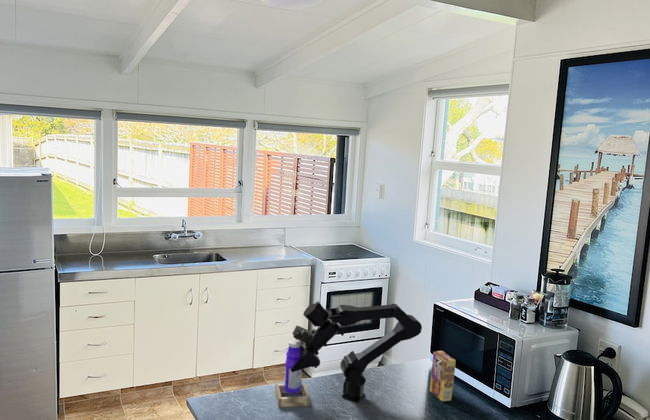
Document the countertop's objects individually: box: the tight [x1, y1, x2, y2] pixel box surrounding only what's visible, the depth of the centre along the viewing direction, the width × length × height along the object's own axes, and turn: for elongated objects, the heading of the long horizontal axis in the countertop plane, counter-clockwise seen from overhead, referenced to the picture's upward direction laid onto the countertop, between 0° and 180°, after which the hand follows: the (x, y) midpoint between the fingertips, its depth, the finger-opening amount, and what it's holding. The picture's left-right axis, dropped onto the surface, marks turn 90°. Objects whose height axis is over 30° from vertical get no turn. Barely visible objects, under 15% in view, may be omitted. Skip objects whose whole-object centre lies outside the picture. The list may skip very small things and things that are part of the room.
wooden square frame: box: [274, 382, 311, 408], centre depth 192 cm, size 11×11×3 cm
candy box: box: [429, 350, 457, 402], centre depth 200 cm, size 9×4×15 cm, turn 20°
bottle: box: [283, 339, 303, 394], centre depth 191 cm, size 7×6×17 cm
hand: (289, 366), depth 190 cm, fingers closed on bottle, 7 cm apart
